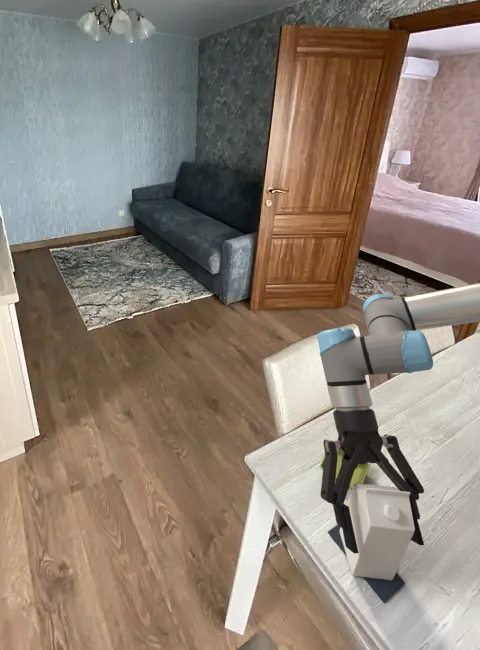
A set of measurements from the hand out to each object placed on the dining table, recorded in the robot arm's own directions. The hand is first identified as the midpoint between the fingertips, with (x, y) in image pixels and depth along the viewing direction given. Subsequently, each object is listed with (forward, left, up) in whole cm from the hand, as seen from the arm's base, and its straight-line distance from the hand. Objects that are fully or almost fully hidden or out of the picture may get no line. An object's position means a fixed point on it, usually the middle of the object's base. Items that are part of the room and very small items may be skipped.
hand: (384, 546), depth 60 cm
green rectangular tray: (+7, -18, -9) cm, 21 cm away
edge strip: (+2, -2, -9) cm, 9 cm away
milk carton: (+2, -2, -9) cm, 9 cm away
